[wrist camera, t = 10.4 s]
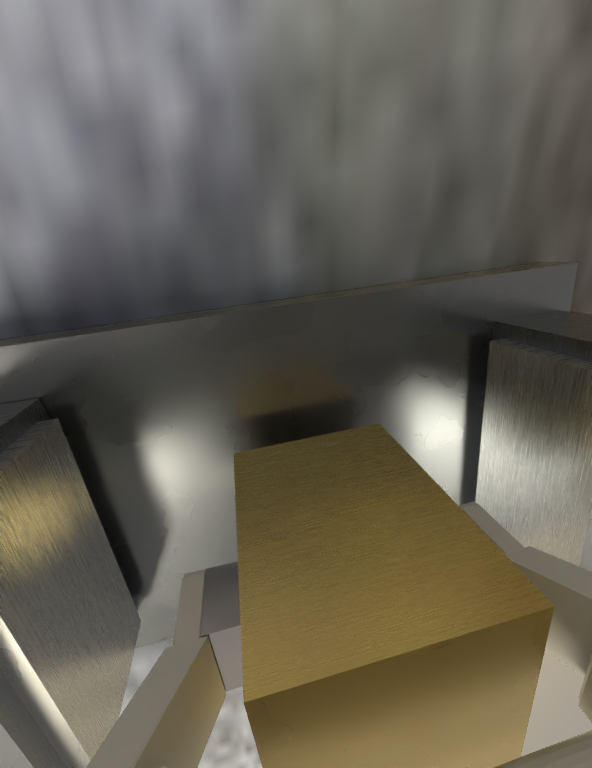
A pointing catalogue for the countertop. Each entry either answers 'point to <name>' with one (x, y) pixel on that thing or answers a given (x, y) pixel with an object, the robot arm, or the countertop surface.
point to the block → (377, 613)
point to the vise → (323, 409)
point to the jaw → (56, 602)
